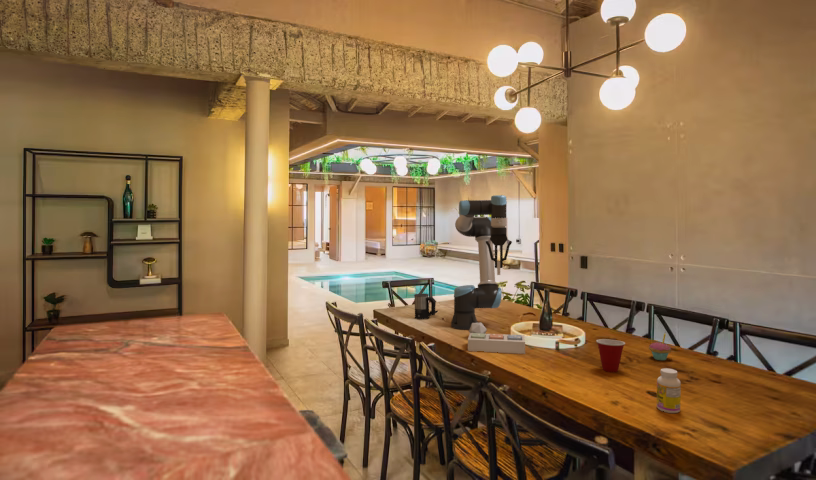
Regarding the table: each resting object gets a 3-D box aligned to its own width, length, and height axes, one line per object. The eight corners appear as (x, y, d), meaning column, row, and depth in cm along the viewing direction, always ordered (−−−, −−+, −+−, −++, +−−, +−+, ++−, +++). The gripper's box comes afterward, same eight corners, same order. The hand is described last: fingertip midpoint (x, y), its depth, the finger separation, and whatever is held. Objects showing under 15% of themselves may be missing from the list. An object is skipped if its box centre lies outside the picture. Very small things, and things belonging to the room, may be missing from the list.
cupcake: (670, 357, 201) (670, 330, 200) (672, 362, 193) (672, 334, 193) (648, 354, 205) (648, 328, 204) (649, 360, 197) (649, 333, 196)
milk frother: (413, 319, 281) (412, 295, 280) (416, 314, 296) (416, 291, 296) (436, 320, 278) (435, 296, 278) (438, 314, 294) (438, 291, 293)
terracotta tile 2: (490, 340, 220) (490, 333, 220) (502, 341, 219) (502, 333, 219) (489, 344, 215) (489, 336, 214) (502, 344, 213) (502, 337, 213)
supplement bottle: (654, 404, 152) (655, 366, 151) (677, 406, 150) (677, 368, 149) (659, 412, 145) (659, 373, 145) (682, 415, 143) (683, 374, 143)
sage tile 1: (472, 340, 222) (472, 332, 222) (485, 340, 221) (485, 333, 221) (471, 343, 216) (471, 335, 216) (484, 344, 215) (484, 336, 215)
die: (484, 342, 231) (491, 325, 234) (469, 334, 231) (476, 317, 234) (478, 343, 239) (485, 327, 242) (464, 335, 239) (471, 319, 242)
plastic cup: (623, 367, 189) (623, 338, 188) (626, 375, 179) (626, 345, 178) (595, 364, 193) (595, 336, 192) (596, 372, 182) (596, 343, 182)
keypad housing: (470, 343, 226) (469, 332, 225) (524, 346, 220) (524, 335, 220) (467, 351, 214) (467, 339, 214) (525, 353, 208) (525, 342, 208)
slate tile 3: (508, 341, 219) (508, 334, 218) (521, 342, 217) (521, 334, 217) (508, 345, 213) (508, 337, 213) (521, 345, 211) (521, 337, 211)
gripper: (484, 227, 222) (484, 275, 223) (512, 227, 219) (512, 275, 221) (485, 226, 229) (485, 273, 231) (512, 226, 227) (512, 273, 228)
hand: (498, 274), depth 226 cm, fingers closed
